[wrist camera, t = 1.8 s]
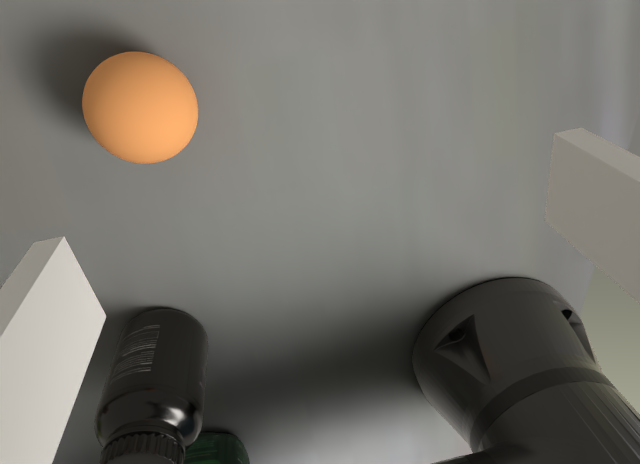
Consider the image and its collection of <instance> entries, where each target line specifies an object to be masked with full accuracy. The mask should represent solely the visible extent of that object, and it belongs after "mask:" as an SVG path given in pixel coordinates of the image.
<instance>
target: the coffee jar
mask: <svg viewBox="0 0 640 464" xmlns="http://www.w3.org/2000/svg"><path fill="white" fill-rule="evenodd" d="M183 464H250V463H249V458H248V455H247V452H246V450H245V448H244V446H243V444H242V442H241V441H240V440H239V439H238V438H237V437H236V436H233V435H229V434H225V433H214V432H210V433H200V434H199V436H198V438H197V439H196V441H195V442H194V443H193V445H192V446H191V447H190V448H189V449H188V450H187V451H185V459H184V462H183Z"/></svg>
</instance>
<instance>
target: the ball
mask: <svg viewBox="0 0 640 464" xmlns="http://www.w3.org/2000/svg"><path fill="white" fill-rule="evenodd" d="M82 107H83V114H84V118H85V121H86V124H87V126H88V128H89V130H90V132H91V134H92V135H93V136H94V138H95V139H96V140H97V142H98V143H99V144H100V145H101V146H102V147H104V148H105V149H106V150H107V151H109V152H110V153H112V154H113V155H115V156H117V157H119V158H121V159H124V160H126V161H130V162H134V163H143V164H148V163H156V162H161V161H164V160H167V159H169V158H171V157H173V156H175V155H176V154H177V153H179V152H180V151H181V150H182V149H183V148H185V146H186V145H187V144H188V143H189V141H190V140H191V138H192V136H193V134H194V132H195V129H196V126H197V121H198V104H197V99H196V96H195V93H194V90H193V88H192V86H191V84H190V83H189V81H188V79H187V78H186V77H185V75H184V74H183V73H182V72H181V71H180V70H179V69H178V68H177V67H176V66H174V65H173V64H172V63H170V62H169V61H167V60H165V59H163V58H161V57H159V56H156V55H153V54H150V53H145V52H137V51H134V52H125V53H120V54H117V55H114V56H112V57H110V58H108V59H106V60H104V61H103V62H102V63H100V64H99V65H98V66H97V67H96V68H95V69H94V70H93V72H92V73H91V75H90V76H89V78H88V80H87V82H86V84H85V88H84V91H83V97H82Z"/></svg>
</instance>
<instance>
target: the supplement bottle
mask: <svg viewBox="0 0 640 464" xmlns="http://www.w3.org/2000/svg"><path fill="white" fill-rule="evenodd" d="M207 356H208V338H207V334H206V332H205V330H204V328H203V326H202V325H201V324H200V323H199V322H198V321H197V320H196V319H195V318H193V317H192V316H190V315H188V314H186V313H184V312H181V311H178V310H173V309H155V310H150V311H147V312H144V313H142V314H140V315H138V316H136V317H134V318H133V319H132V320H131V321H129V322H128V324H127V325H126V326H125V327H124V329H123V331H122V333H121V335H120V338H119V341H118V344H117V347H116V351H115V354H114V357H113V360H112V364H111V367H110V370H109V373H108V377H107V380H106V383H105V386H104V389H103V393H102V396H101V399H100V402H99V406H98V409H97V412H96V416H95V421H94V429H95V434H96V437H97V439H98V441H99V443H100V445H101V446H102V447H103V449H102V452H101V460H100V464H183V462H184V459H185V451H187V450H188V449H189V448H190V447H191V446H192V445H193V443H194V442H195V441H196V439H197V438H198V436H199V434H200V431H201V428H202V422H203V411H204V398H205V384H206V370H207Z"/></svg>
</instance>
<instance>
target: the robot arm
mask: <svg viewBox="0 0 640 464" xmlns="http://www.w3.org/2000/svg"><path fill="white" fill-rule="evenodd" d="M545 222H546V223H547V224H549V225H550V226H551V227H552V228H553V229H554V230H555V231H557V232H558V233H559V234H560V235H561V236H562V237H563V238H565V239H566V240H567V241H568V242H569V243H570V244H571V245H573V246H574V247H575V248H576V249H577V250H578V251H579V252H581V253H582V254H583V255H584V256H585V257H586V258H587V259H589V260H590V261H591V262H592V263H593V264H594V265H595V266H597V267H598V268H599V269H600V270H601V271H602V272H603V273H605V274H606V275H607V276H608V277H609V278H610V279H612V280H613V281H614V282H615V283H616V284H617V285H618V286H619V287H621V288H622V289H623V290H624V291H625V292H626V293H628V294H629V295H630V296H631V297H632V298H633V299H634V300H635V301H637V302H638V303H639V304H640V157H638V156H636V155H634V154H632V153H630V152H628V151H627V150H625V149H623V148H621V147H619V146H617V145H615V144H613V143H611V142H609V141H607V140H605V139H603V138H601V137H599V136H597V135H595V134H593V133H591V132H589V131H587V130H585V129H583V128H577V129H573V130H568V131H563V132H558V133H554V139H553V148H552V157H551V166H550V175H549V184H548V193H547V203H546V212H545ZM105 319H106V314H105V313H104V311H103V309H102V307H101V305H100V303H99V301H98V299H97V297H96V296H95V294H94V292H93V290H92V288H91V286H90V284H89V282H88V281H87V279H86V277H85V275H84V273H83V271H82V269H81V267H80V265H79V264H78V262H77V260H76V258H75V256H74V254H73V252H72V250H71V248H70V247H69V245H68V243H67V241H66V239H65V237H64V236H62V237H57V238H53V239H48V240H43V241H38V242H34V243H33V244H32V246H31V247H30V249H29V250H28V251H27V253H26V254H25V256H24V257H23V258H22V260H21V261H20V263H19V264H18V265H17V267H16V268H15V269H14V271H13V272H12V274H11V275H10V276H9V278H8V279H7V281H6V282H5V283H4V285H3V286H2V288H1V289H0V464H52V462H53V459H54V457H55V454H56V451H57V448H58V446H59V443H60V440H61V438H62V435H63V432H64V430H65V427H66V424H67V421H68V419H69V416H70V413H71V411H72V408H73V405H74V403H75V400H76V397H77V394H78V392H79V389H80V386H81V384H82V381H83V378H84V376H85V373H86V370H87V368H88V365H89V362H90V359H91V357H92V354H93V351H94V349H95V346H96V343H97V341H98V338H99V335H100V332H101V330H102V327H103V324H104V322H105ZM413 369H414V373H415V375H416V378H417V380H418V382H419V385H420V387H421V389H422V392H423V394H424V395H425V397H426V398H427V400H428V401H429V403H430V404H431V405H432V406H433V407H434V408H435V409H436V410H437V411H438V412H439V413H440V414H441V415H442V417H443V418H444V419H445V420H446V421H447V422H448V423H449V424H450V425H451V426H452V427H453V428H454V429H455V430H456V431H457V432H458V433H459V434H460V435H461V436H462V438H463V439H464V440H465V441H466V442H467V443H468V444H469V446H470V448H471V450H472V452H473V453H472V454H469V455H465V456H459V457H455V458H451V459H448V460H444V461H440V462H436V463H432V464H640V415H639V413H638V412H637V411H636V410H635V409H634V408H633V407H632V406H631V405H630V403H629V402H628V401H627V400H626V399H625V398H624V397H623V396H622V394H621V393H620V392H619V391H618V390H617V389H616V388H615V387H614V386H613V384H612V383H611V382H610V381H609V380H608V379H607V378H606V376H605V375H604V374H603V372H602V370H601V367H600V365H599V363H598V360H597V358H596V355H595V353H594V350H593V348H592V346H591V343H590V341H589V338H588V335H587V333H586V331H585V328H584V326H583V323H582V321H581V319H580V317H579V315H578V314H577V312H576V311H575V310H574V308H573V307H572V306H571V305H570V304H569V303H568V302H567V301H566V300H565V299H564V298H563V297H562V296H561V295H560V294H559V293H558V292H557V291H556V290H555V289H554V288H552V287H550V286H549V285H547V284H545V283H542V282H539V281H536V280H532V279H525V278H507V279H499V280H494V281H490V282H486V283H483V284H480V285H478V286H475V287H473V288H471V289H468V290H466V291H464V292H462V293H461V294H459V295H457V296H456V297H454V298H453V299H451V300H450V301H448V302H447V303H446V304H444V305H443V306H442V307H441V308H440V309H439V310H438V311H437V312H435V314H434V315H433V316H432V317H431V318H430V319H429V320H428V322H427V323H426V324H425V326H424V327H423V329H422V330H421V332H420V334H419V336H418V338H417V340H416V343H415V346H414V351H413Z"/></svg>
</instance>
